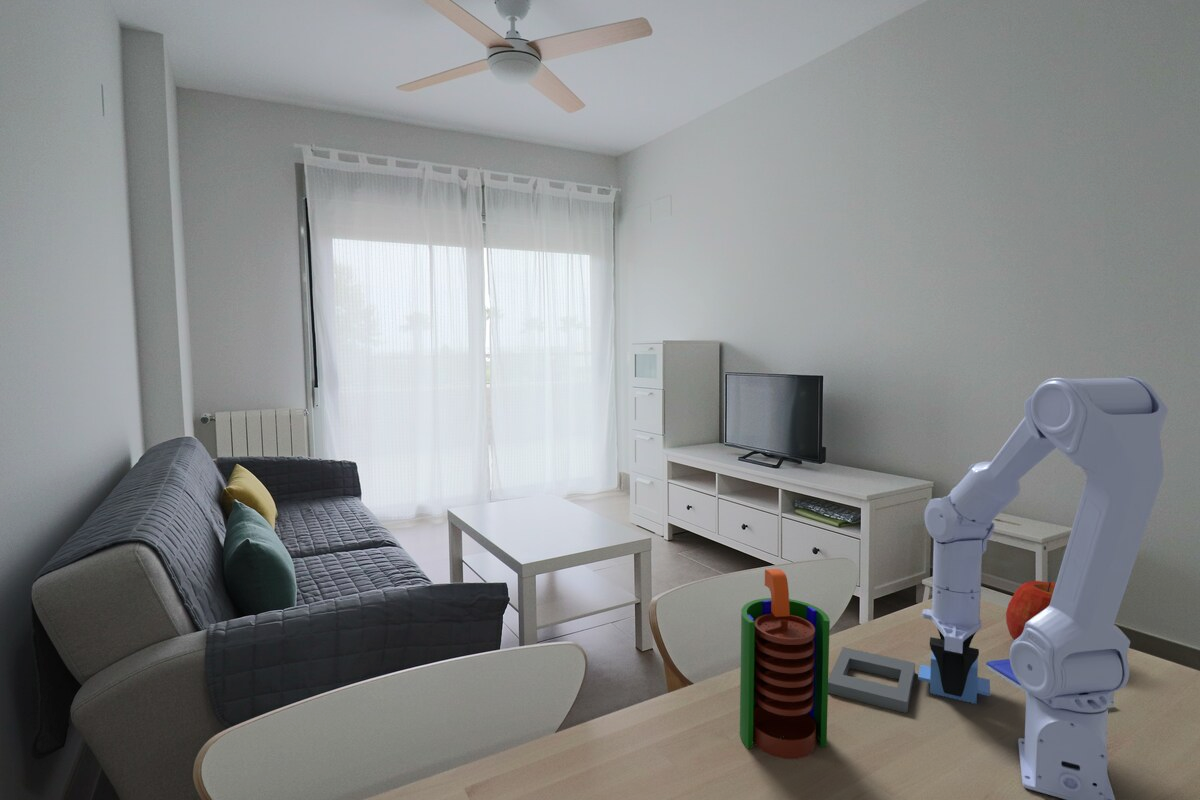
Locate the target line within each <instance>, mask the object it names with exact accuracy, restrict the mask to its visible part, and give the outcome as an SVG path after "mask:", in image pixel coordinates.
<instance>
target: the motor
mask: <svg viewBox="0 0 1200 800" xmlns="http://www.w3.org/2000/svg"><path fill="white" fill-rule="evenodd" d="M764 586H765V587H767V589H769V591H770V597H766V598H764V597H763V598H758V599H754V600H751V601H749V602H747V603H745V604H744V605H743V606H742V608H741V611H740V615H741V616H740V620H741V621H740V623H741V624H740V679H739V680H740V687H739V688H740V690H739V692H740V693H739V694H740V695H739V703H740V704H739V737H740V740H741V742H742V743H743V745H744V746H745V748H746V749H748V750H750V749H753V747H754V745H755V746H756V747H757V748H758V749H759V750H760V751H762V752H764V753H766V754H768V755H769V756H772V757H776V758H781V759H787V760H795V759H802V758H806V757H807V756H810V755H811V754H812V753H813V752H814V751H815V748H816V743H817V742H816V739H819V740H818V741H819V743H820V747H823V748H827V744H828V743H827V741H828V739H827V738H828V703H829V702H828V701H829V697H828V696H829V693H828V679H829V665H830V664H829V663H830V662H829V660H830V654H829V653H830V622H831V621H830V617H829V615H828V614H827V613H826V612H825V611H824V610H822V609H821V608H819V607H818V606H815V605H813V604H810V603H807V602H804V601H801V600H797V599H792V598H790V593H789V583H788V578H787V574H786V573H785V572H784V571H783V570H782V569H779V568H769V569H768V568H767V569H764Z"/></svg>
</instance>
